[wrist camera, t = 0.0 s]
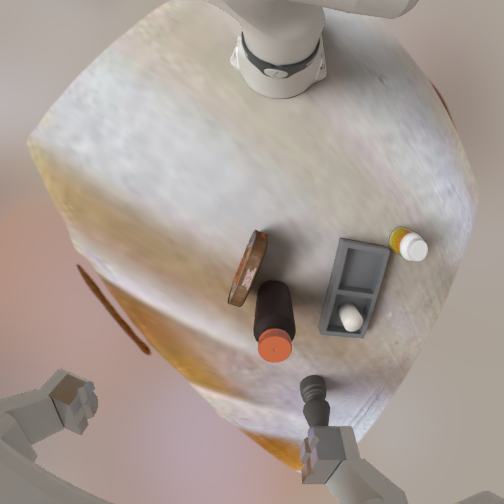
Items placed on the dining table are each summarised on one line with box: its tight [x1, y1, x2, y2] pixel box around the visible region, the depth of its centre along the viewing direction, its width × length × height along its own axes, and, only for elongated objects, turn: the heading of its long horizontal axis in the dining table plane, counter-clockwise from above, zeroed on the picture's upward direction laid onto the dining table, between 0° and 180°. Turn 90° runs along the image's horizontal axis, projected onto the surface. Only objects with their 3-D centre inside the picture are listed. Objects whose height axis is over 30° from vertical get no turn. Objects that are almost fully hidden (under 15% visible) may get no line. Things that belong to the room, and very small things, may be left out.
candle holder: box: [300, 375, 330, 427], centre depth 53 cm, size 6×6×25 cm
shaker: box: [338, 301, 363, 332], centre depth 55 cm, size 4×4×6 cm
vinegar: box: [254, 280, 295, 363], centre depth 49 cm, size 7×7×20 cm
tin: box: [228, 230, 268, 307], centre depth 53 cm, size 15×3×8 cm, turn 159°
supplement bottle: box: [388, 227, 428, 261], centre depth 50 cm, size 5×5×10 cm
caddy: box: [318, 238, 390, 338], centre depth 56 cm, size 20×10×4 cm, turn 172°
